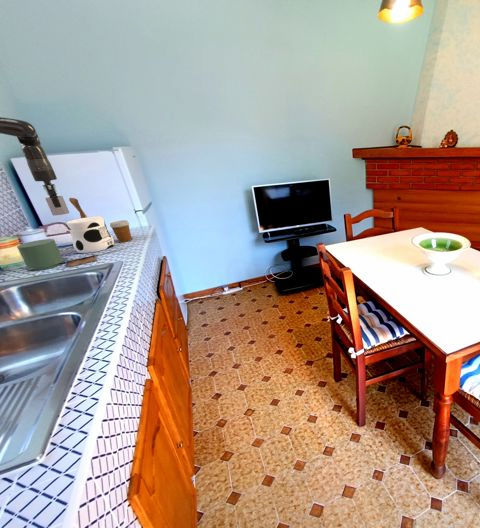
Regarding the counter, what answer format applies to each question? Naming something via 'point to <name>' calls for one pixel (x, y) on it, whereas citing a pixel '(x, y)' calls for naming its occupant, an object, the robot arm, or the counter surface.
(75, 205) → the wooden handled tool
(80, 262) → the coaster
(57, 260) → the green tapered cylinder
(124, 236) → the disposable coffee cup
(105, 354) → the counter surface
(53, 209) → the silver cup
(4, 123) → the robot arm
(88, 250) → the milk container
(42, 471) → the counter surface
